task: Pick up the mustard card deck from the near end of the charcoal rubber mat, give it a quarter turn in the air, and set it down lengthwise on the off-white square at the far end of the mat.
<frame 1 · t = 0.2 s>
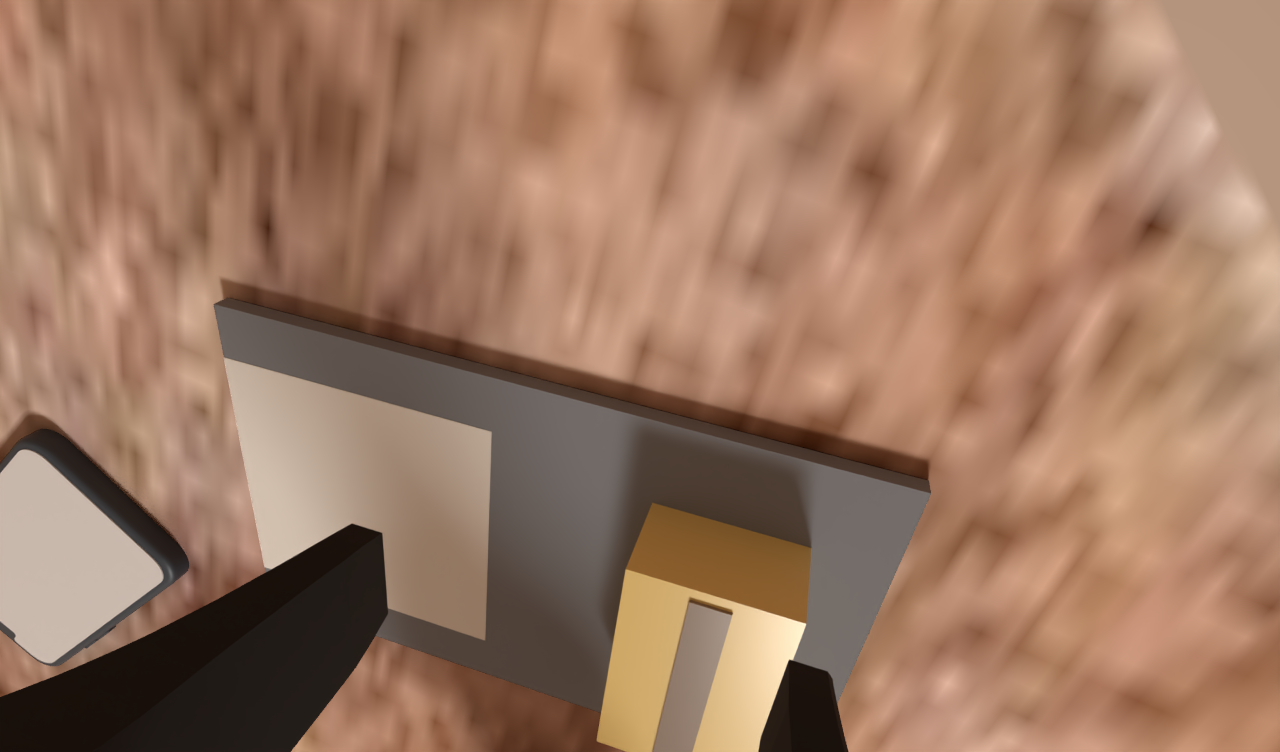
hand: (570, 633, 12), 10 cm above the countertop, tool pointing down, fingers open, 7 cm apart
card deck: (706, 614, 23), point 1 cm above the countertop, touching mat
phone case: (72, 546, 34), on the countertop
mat: (534, 547, 24), on the countertop
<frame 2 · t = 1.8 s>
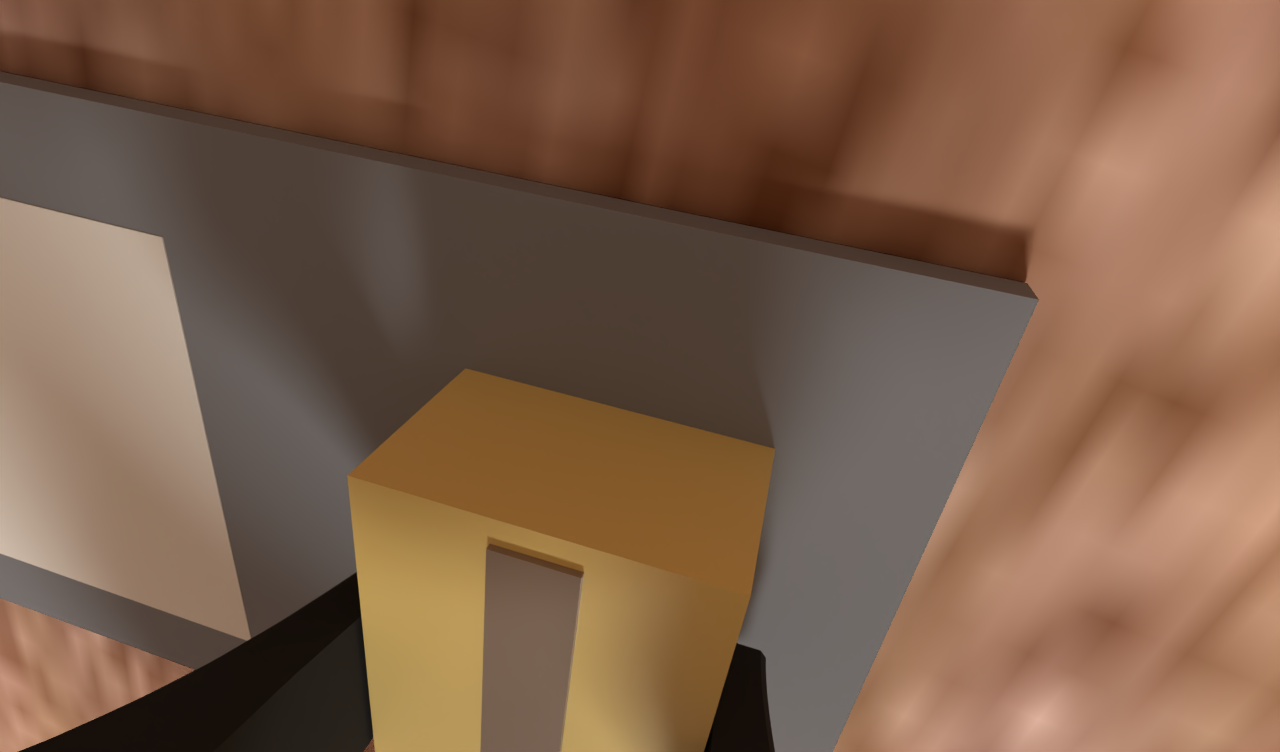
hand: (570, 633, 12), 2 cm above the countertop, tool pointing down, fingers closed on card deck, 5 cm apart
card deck: (589, 591, 12), point 1 cm above the countertop, touching gripper, mat
mat: (300, 478, 14), on the countertop
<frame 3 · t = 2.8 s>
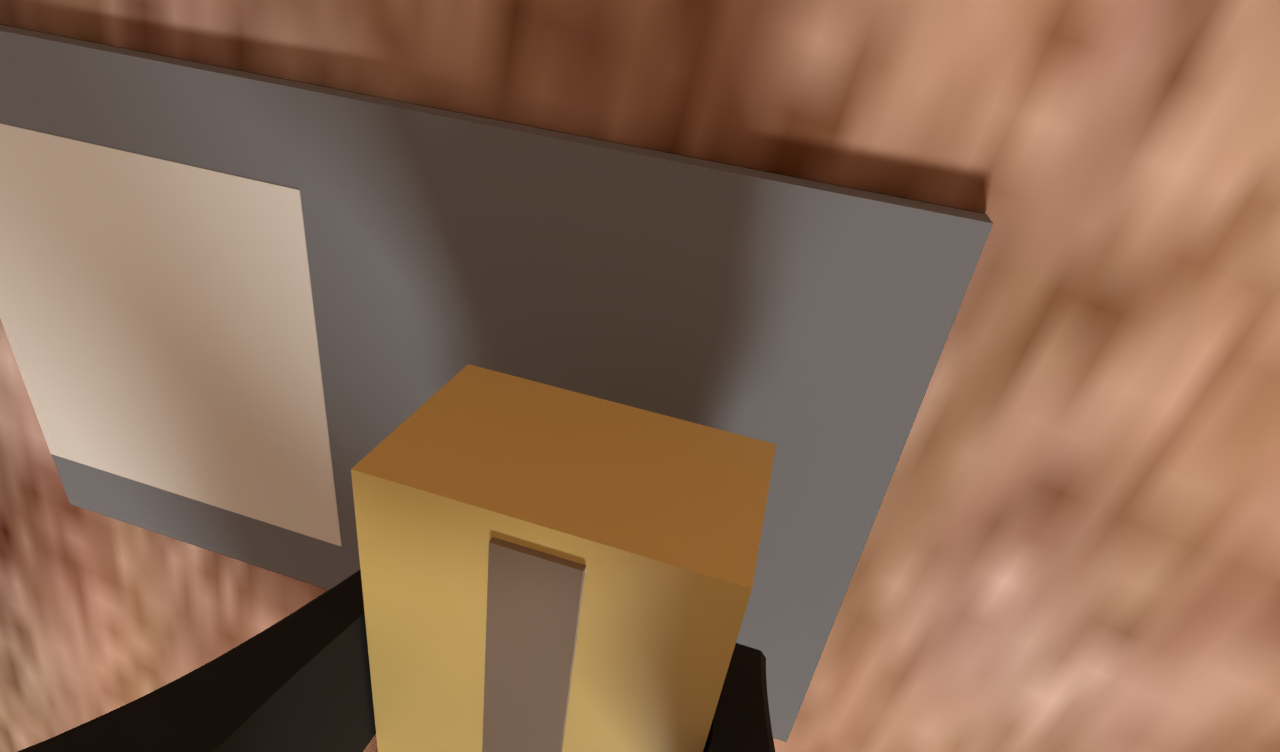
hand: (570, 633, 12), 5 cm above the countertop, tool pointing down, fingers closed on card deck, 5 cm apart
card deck: (590, 586, 12), point 4 cm above the countertop, touching gripper
mat: (393, 398, 17), on the countertop
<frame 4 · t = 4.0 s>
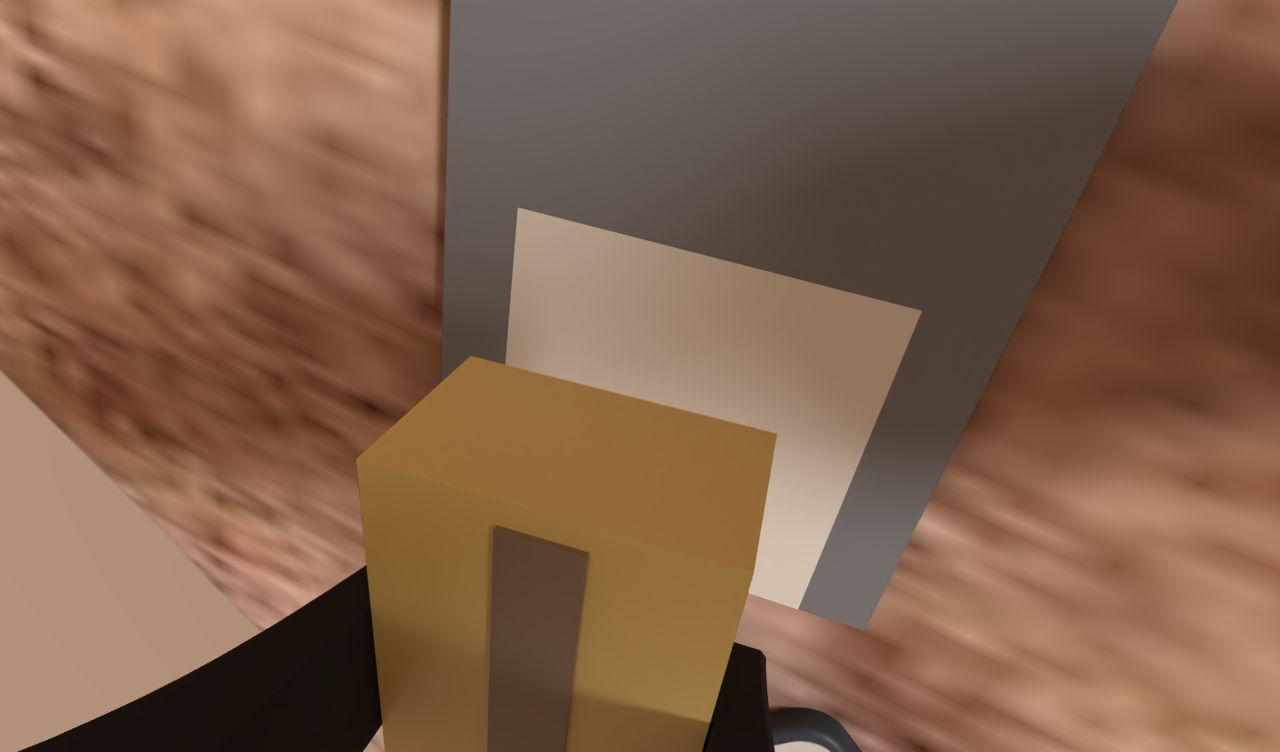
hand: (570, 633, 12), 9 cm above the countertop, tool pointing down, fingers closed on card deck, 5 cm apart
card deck: (593, 577, 13), point 7 cm above the countertop, touching gripper
mat: (729, 189, 16), on the countertop
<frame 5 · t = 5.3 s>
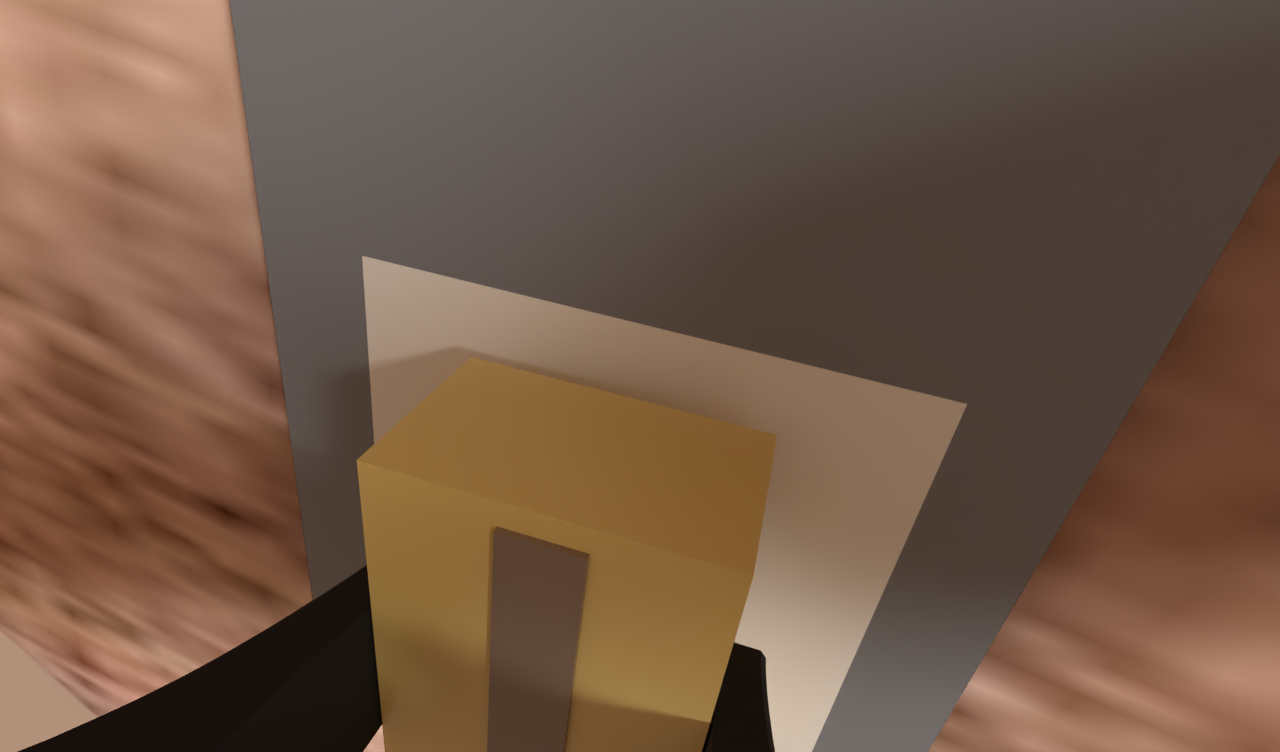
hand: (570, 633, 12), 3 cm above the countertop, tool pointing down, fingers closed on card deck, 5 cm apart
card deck: (593, 577, 13), point 1 cm above the countertop, touching gripper
mat: (665, 223, 11), on the countertop
when the fingers open (3 cm above the countertop, at t = 6.1 s): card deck stays where it is, resting on mat.
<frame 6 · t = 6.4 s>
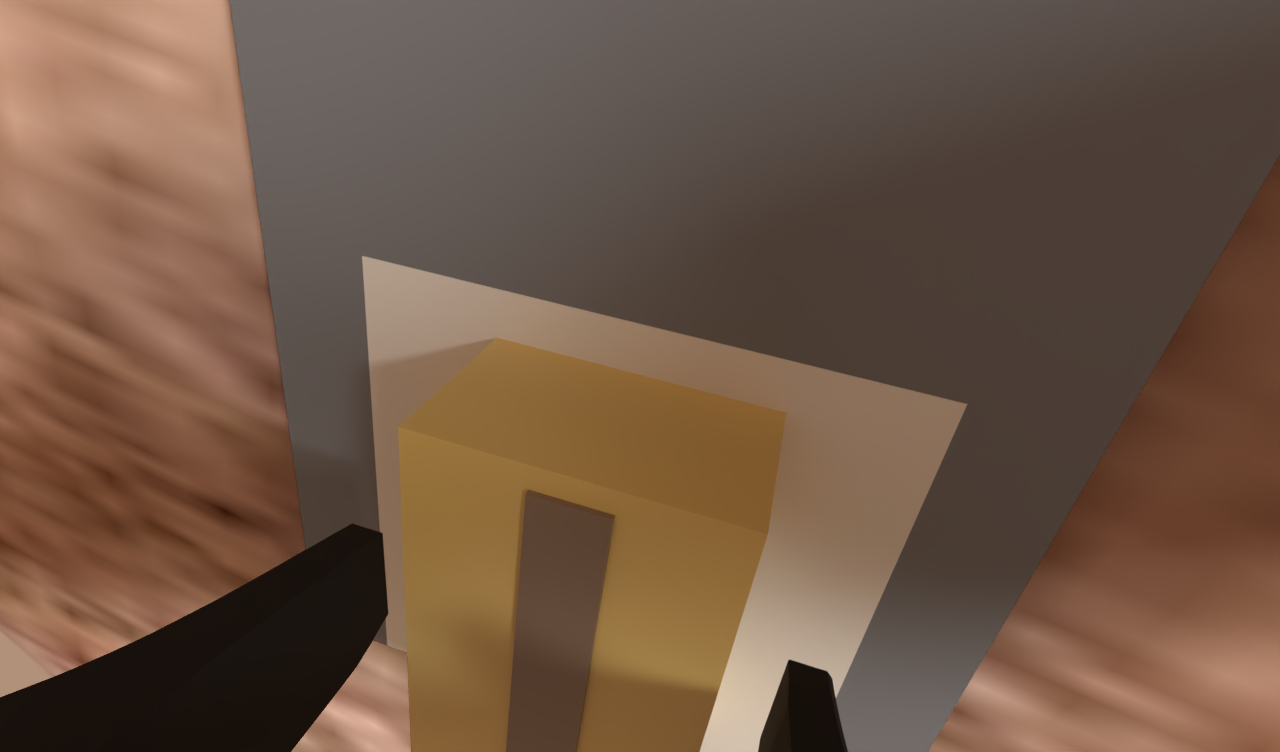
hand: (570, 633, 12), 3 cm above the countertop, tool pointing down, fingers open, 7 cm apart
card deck: (607, 551, 13), point 1 cm above the countertop, touching mat
mat: (665, 223, 11), on the countertop
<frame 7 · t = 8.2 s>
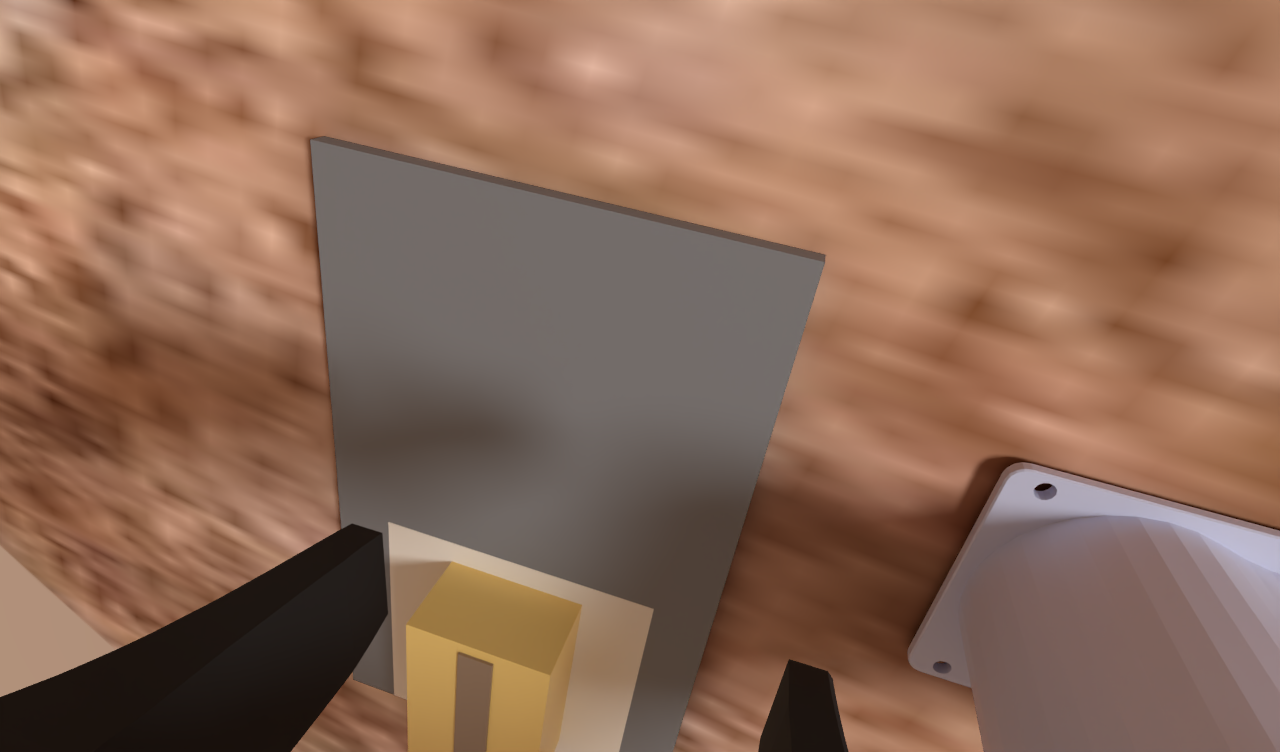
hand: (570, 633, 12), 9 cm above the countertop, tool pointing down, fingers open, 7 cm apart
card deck: (508, 656, 26), point 1 cm above the countertop, touching mat
mat: (527, 520, 23), on the countertop
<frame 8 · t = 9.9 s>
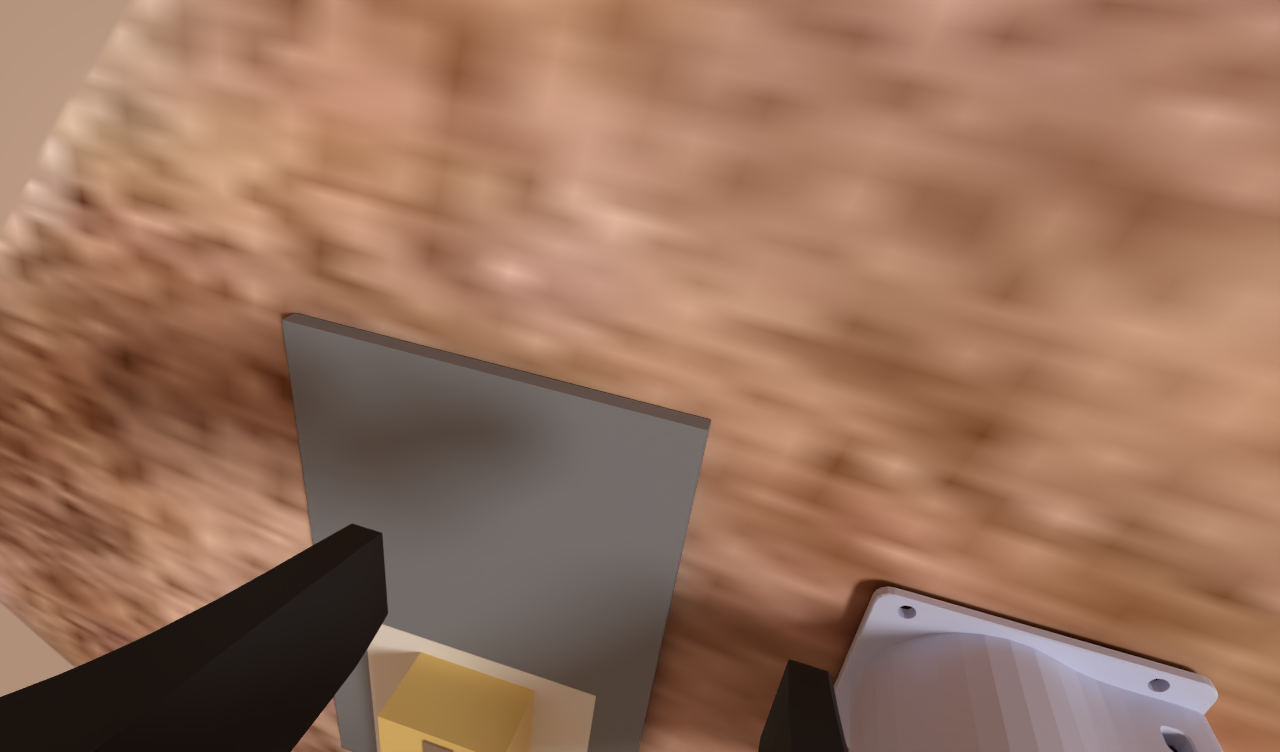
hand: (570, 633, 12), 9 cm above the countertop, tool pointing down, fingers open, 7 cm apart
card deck: (475, 731, 29), point 1 cm above the countertop, touching mat
mat: (484, 618, 27), on the countertop
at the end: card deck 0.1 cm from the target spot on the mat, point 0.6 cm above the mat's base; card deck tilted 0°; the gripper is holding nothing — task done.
